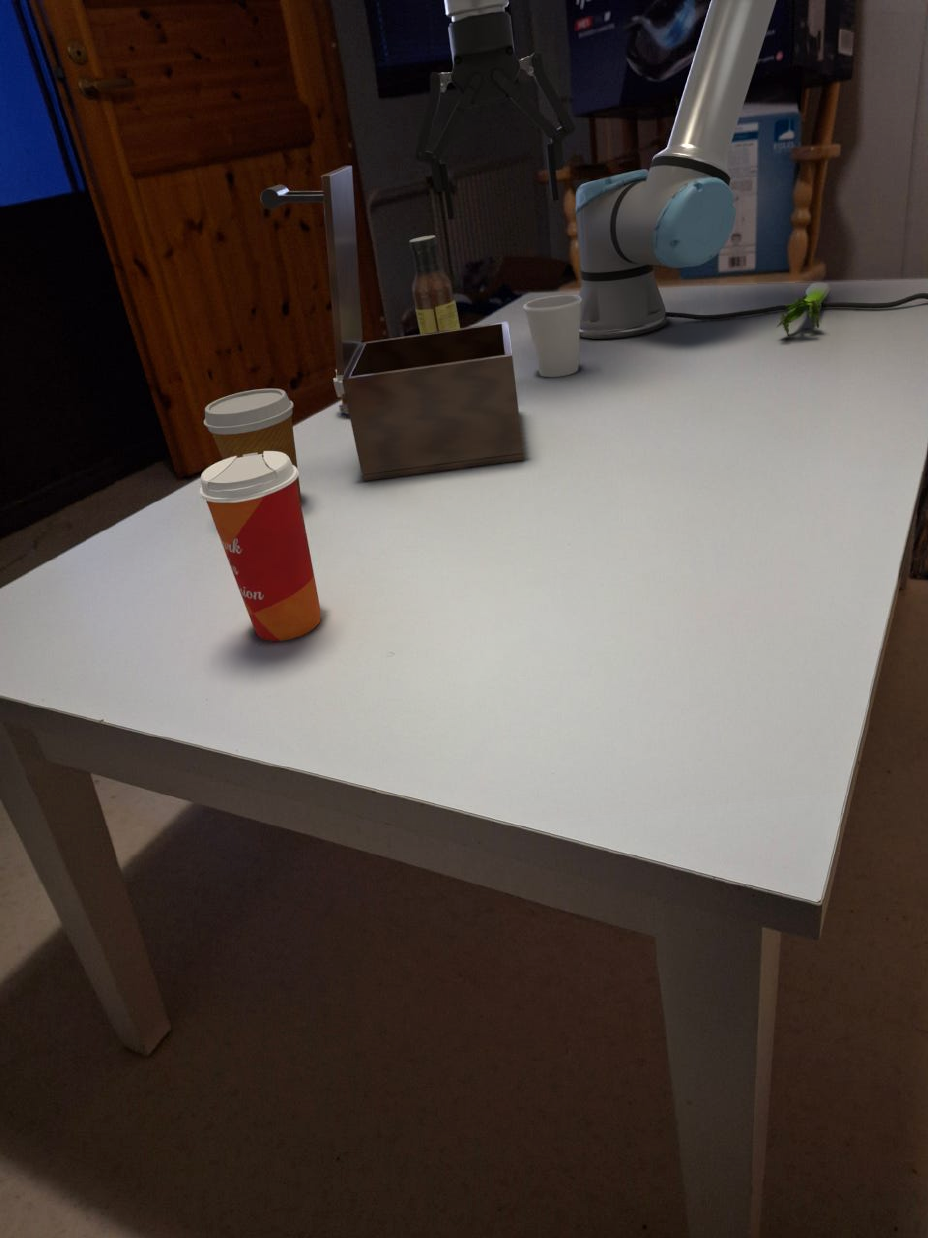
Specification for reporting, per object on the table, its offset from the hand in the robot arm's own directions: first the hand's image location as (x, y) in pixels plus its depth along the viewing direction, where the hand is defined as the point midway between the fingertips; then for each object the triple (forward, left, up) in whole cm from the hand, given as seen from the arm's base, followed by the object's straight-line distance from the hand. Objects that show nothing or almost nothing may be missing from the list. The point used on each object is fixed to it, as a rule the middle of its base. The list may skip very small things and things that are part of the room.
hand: (502, 208), depth 117 cm
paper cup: (+22, +63, -23) cm, 71 cm away
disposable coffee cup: (+29, +35, -23) cm, 52 cm away
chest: (+10, +22, -23) cm, 34 cm away
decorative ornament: (+22, +1, -23) cm, 32 cm away
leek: (-45, -15, -23) cm, 53 cm away
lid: (+18, +22, -1) cm, 29 cm away
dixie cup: (-6, -5, -23) cm, 25 cm away
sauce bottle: (+11, -14, -23) cm, 29 cm away
